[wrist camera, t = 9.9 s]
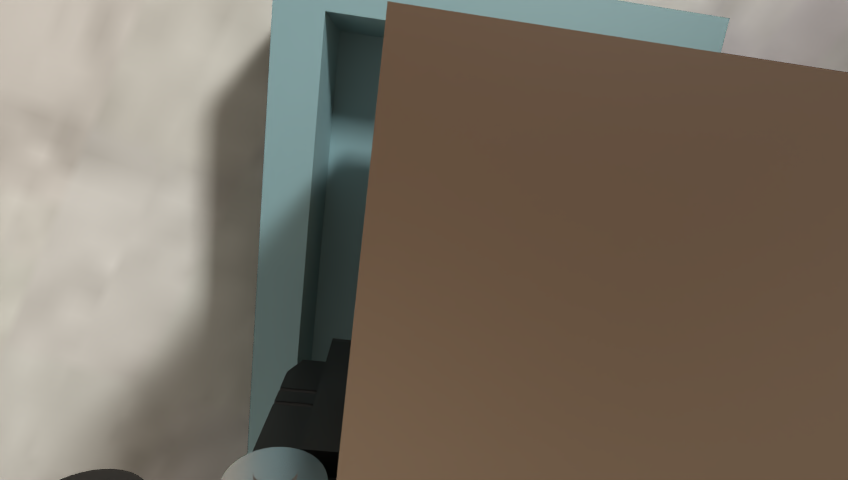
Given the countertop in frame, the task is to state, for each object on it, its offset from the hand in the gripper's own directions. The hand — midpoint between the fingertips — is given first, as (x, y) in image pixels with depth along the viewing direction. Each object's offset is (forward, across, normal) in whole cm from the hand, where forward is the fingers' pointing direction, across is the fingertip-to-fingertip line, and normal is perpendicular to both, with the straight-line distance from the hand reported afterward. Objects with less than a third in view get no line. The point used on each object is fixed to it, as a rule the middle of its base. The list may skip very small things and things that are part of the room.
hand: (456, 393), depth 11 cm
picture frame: (+2, 0, 0) cm, 2 cm away
